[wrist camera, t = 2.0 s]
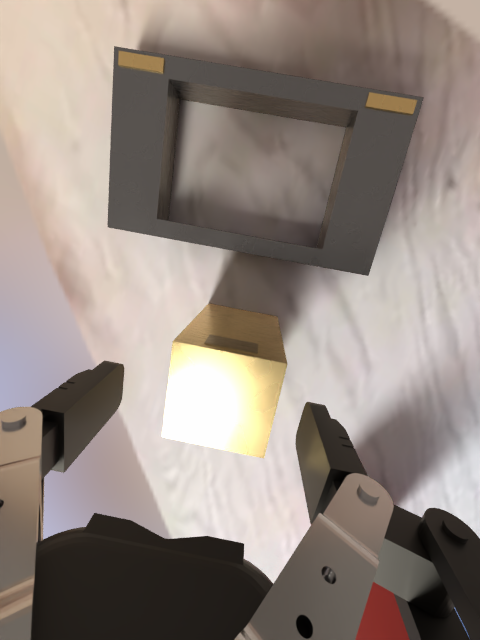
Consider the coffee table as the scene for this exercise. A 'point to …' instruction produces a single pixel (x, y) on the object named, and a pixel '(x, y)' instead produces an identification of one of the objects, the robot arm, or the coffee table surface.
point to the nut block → (225, 380)
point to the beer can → (381, 617)
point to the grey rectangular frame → (264, 97)
